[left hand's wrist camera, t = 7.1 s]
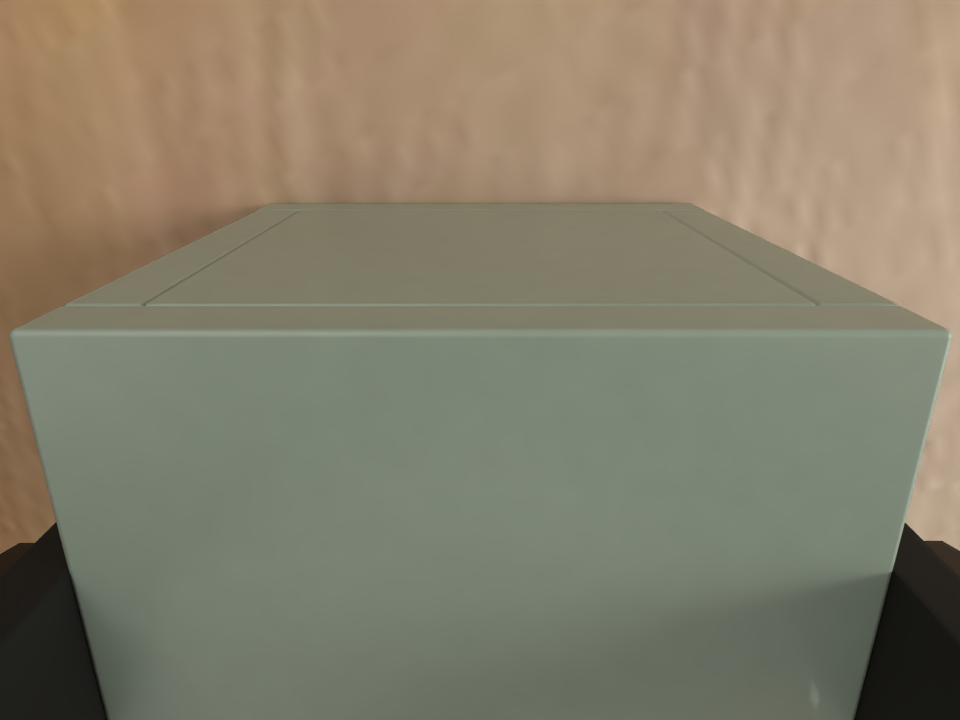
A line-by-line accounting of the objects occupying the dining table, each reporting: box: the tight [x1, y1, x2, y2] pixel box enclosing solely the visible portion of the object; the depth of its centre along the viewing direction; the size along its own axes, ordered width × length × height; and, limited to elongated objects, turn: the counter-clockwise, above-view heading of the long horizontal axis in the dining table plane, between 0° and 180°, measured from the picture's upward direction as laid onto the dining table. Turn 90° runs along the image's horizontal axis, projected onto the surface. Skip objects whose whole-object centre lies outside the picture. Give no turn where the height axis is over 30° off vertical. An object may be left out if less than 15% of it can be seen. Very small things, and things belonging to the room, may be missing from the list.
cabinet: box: [9, 203, 952, 720], centre depth 16 cm, size 21×10×10 cm, turn 0°
